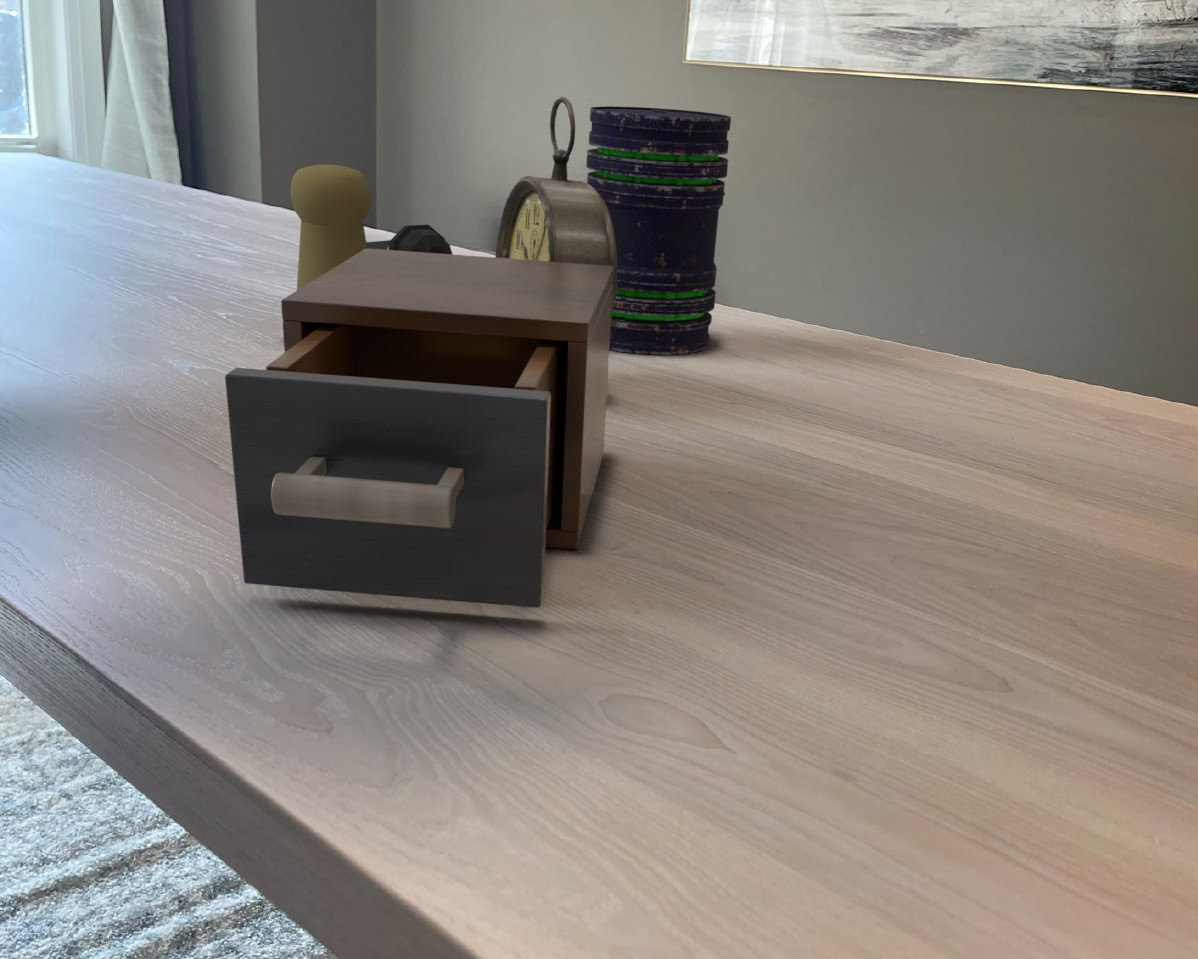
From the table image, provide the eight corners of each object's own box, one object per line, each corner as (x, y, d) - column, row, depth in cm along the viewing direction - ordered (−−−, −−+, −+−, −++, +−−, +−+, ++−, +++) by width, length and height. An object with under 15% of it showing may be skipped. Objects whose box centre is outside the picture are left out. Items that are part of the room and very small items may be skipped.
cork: (278, 345, 88) (265, 166, 82) (315, 328, 93) (306, 159, 87) (361, 354, 86) (354, 174, 81) (395, 337, 92) (390, 166, 86)
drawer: (526, 655, 45) (532, 431, 41) (205, 628, 46) (180, 404, 41) (574, 497, 60) (582, 323, 56) (334, 478, 61) (324, 304, 57)
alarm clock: (488, 367, 86) (491, 88, 77) (565, 365, 87) (576, 92, 79) (540, 409, 77) (550, 101, 69) (624, 406, 79) (644, 105, 70)
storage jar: (716, 358, 91) (739, 122, 84) (578, 350, 91) (588, 112, 83) (705, 330, 100) (725, 112, 92) (578, 322, 100) (588, 104, 92)
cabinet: (577, 550, 57) (588, 322, 52) (296, 527, 57) (280, 300, 52) (603, 456, 69) (614, 266, 64) (372, 438, 70) (365, 248, 65)
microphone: (304, 301, 116) (424, 313, 102) (278, 236, 112) (398, 239, 98) (353, 278, 118) (477, 286, 104) (329, 213, 115) (453, 212, 101)
